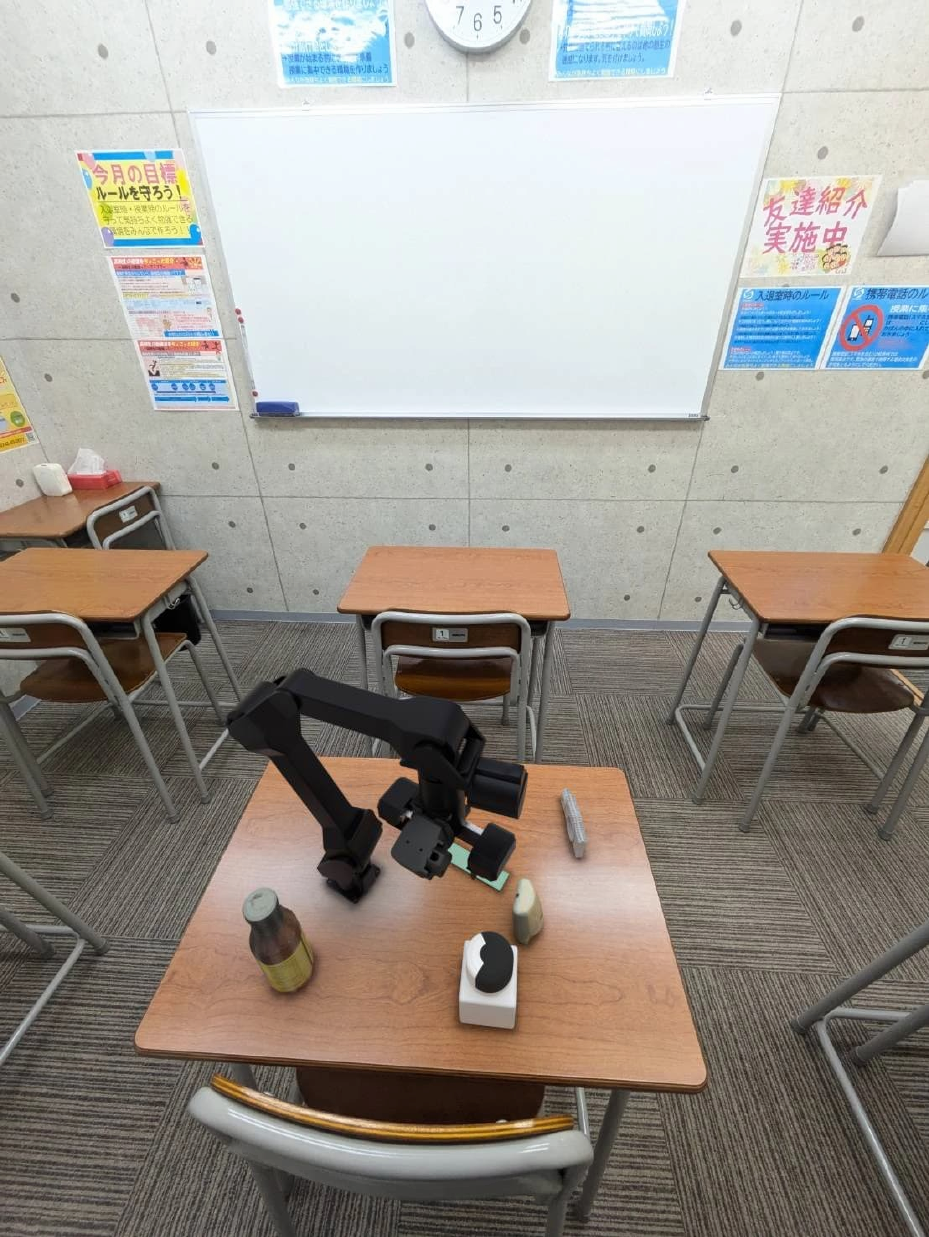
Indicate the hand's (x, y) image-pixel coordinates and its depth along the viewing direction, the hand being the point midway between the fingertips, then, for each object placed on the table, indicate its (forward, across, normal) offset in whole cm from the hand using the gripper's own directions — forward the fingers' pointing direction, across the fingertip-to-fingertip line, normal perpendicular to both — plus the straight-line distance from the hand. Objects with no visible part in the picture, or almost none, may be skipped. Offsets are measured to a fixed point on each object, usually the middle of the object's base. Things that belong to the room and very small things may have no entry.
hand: (446, 860), depth 73 cm
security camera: (+13, +11, -7) cm, 18 cm away
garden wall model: (+13, +11, +23) cm, 29 cm away
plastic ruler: (+13, -2, +8) cm, 15 cm away
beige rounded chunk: (+13, +11, +4) cm, 18 cm away
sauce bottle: (+13, -14, -19) cm, 27 cm away
